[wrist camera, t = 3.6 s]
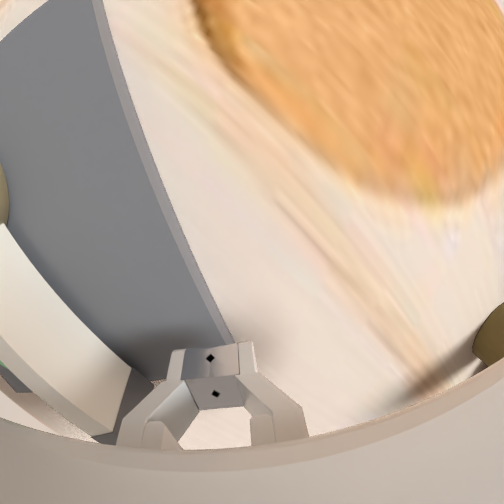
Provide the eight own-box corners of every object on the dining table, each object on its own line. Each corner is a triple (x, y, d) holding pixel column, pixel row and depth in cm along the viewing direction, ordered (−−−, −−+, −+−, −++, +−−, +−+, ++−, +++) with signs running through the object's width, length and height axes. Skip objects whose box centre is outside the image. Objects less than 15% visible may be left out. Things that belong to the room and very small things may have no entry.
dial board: (-81, 174, 8) (-95, 180, 6) (99, -13, 7) (84, -27, 5) (24, 382, 16) (16, 396, 15) (236, 346, 15) (238, 370, 13)
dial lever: (-50, 192, 8) (-104, 221, 4) (-19, 125, 7) (-88, 140, 3) (117, 397, 14) (100, 459, 10) (175, 372, 13) (163, 449, 9)
